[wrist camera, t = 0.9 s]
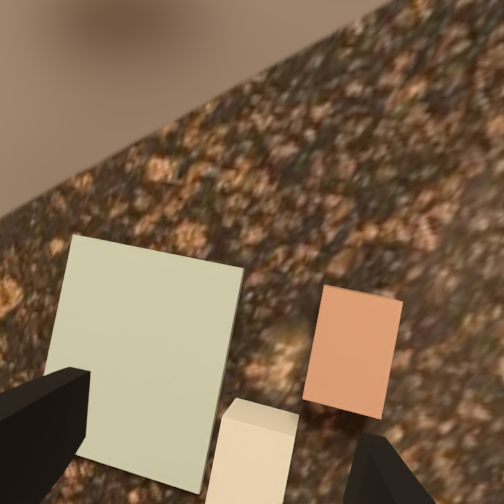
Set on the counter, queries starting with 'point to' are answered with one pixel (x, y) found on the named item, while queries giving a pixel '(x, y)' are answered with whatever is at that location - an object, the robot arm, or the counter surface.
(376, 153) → the counter surface
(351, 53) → the counter surface
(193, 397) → the baseplate
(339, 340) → the terracotta brick
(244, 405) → the cream brick
